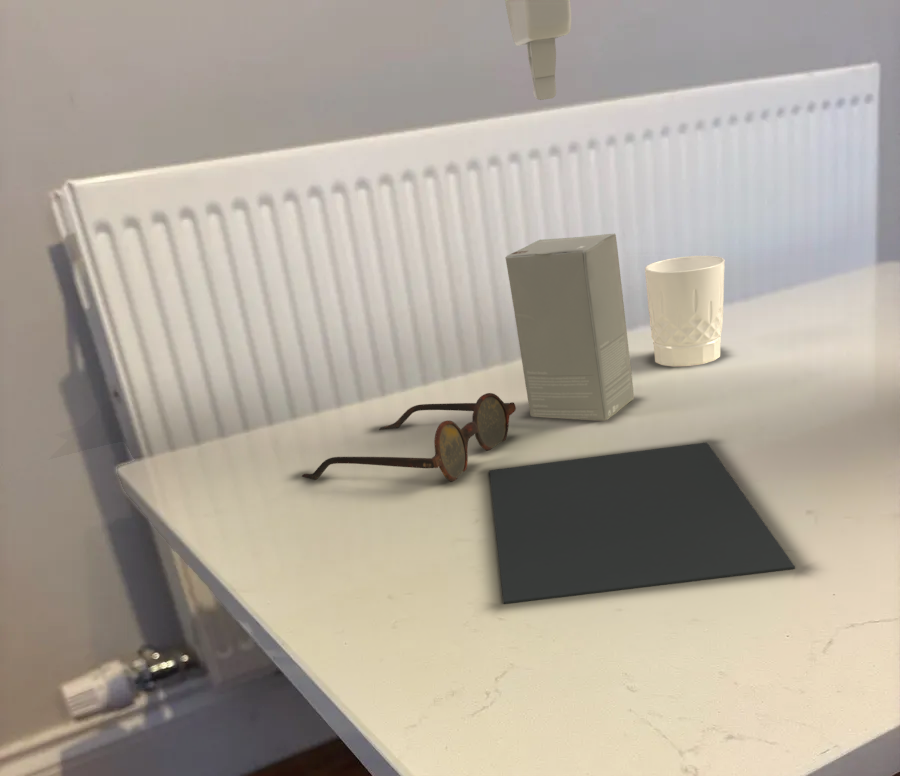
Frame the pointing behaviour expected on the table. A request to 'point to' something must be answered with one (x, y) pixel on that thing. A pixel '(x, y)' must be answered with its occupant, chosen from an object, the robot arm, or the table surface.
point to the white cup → (686, 309)
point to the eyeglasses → (446, 437)
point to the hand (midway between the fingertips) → (545, 99)
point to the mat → (625, 524)
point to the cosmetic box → (572, 327)
